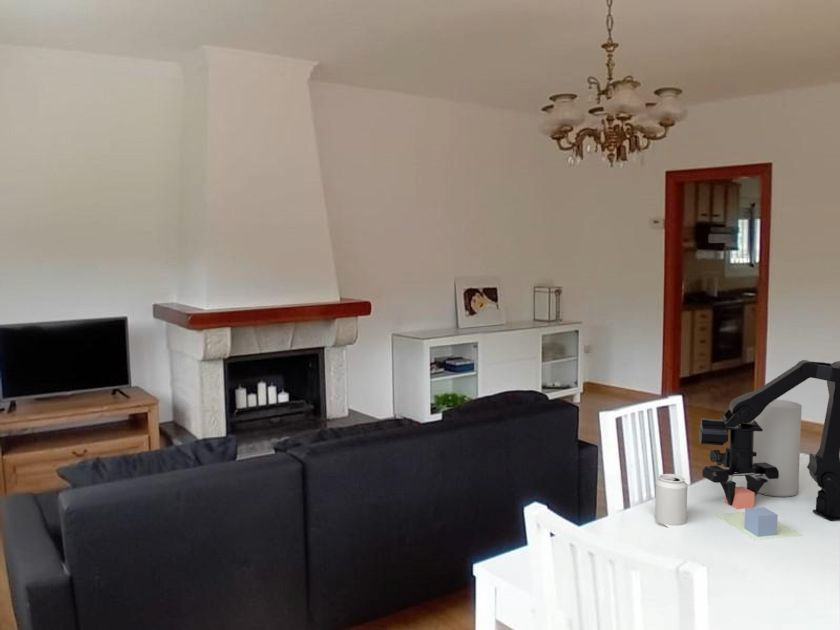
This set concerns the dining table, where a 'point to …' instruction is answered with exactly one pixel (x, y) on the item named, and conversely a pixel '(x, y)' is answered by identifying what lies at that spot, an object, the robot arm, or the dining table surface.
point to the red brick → (742, 498)
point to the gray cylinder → (779, 446)
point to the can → (671, 500)
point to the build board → (739, 523)
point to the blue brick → (761, 521)
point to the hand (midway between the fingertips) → (739, 504)
